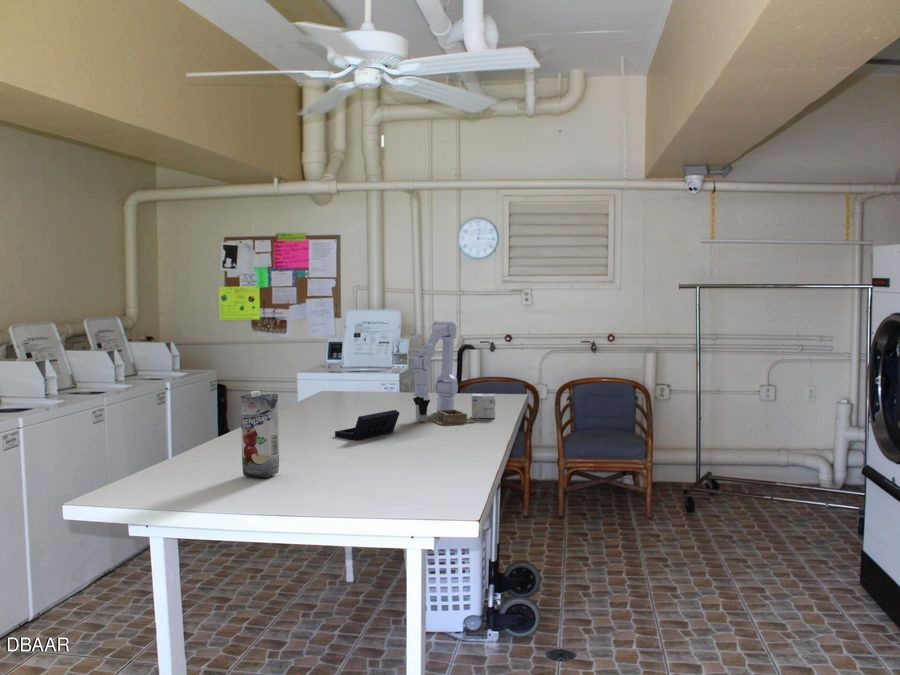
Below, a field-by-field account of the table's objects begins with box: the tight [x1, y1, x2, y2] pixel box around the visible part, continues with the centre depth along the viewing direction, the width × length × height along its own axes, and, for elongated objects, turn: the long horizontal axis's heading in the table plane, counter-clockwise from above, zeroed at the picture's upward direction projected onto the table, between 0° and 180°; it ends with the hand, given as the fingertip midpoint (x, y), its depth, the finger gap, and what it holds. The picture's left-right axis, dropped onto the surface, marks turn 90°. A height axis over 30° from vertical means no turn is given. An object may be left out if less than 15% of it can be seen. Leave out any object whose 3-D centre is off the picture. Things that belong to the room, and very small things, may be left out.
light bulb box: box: [471, 393, 496, 420], centre depth 337 cm, size 11×7×11 cm, turn 84°
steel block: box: [415, 404, 428, 422], centre depth 327 cm, size 4×4×7 cm
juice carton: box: [239, 390, 280, 479], centre depth 233 cm, size 9×10×27 cm
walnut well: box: [429, 409, 475, 426], centre depth 328 cm, size 14×16×4 cm
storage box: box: [334, 409, 400, 442], centre depth 298 cm, size 21×16×10 cm
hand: (421, 414), depth 327 cm, fingers closed on steel block, 4 cm apart
